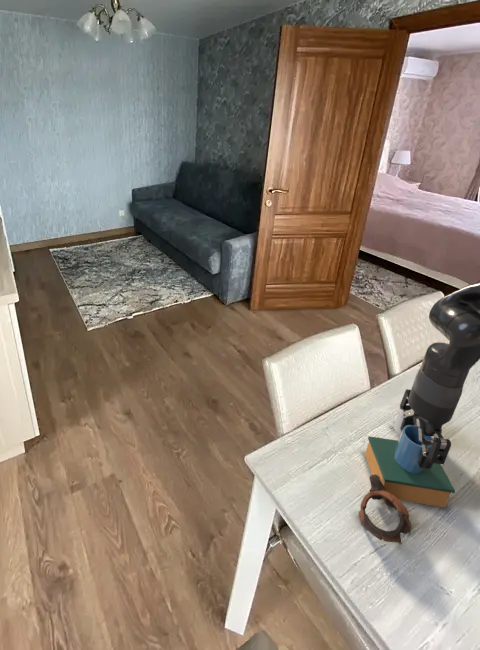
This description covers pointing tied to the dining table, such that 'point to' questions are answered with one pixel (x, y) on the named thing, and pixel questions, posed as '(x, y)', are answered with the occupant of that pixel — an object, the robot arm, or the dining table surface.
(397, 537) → the brown jagged ring
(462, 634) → the dining table surface
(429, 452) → the robot arm
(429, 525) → the dining table surface
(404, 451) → the cup
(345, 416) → the dining table surface
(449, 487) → the container
